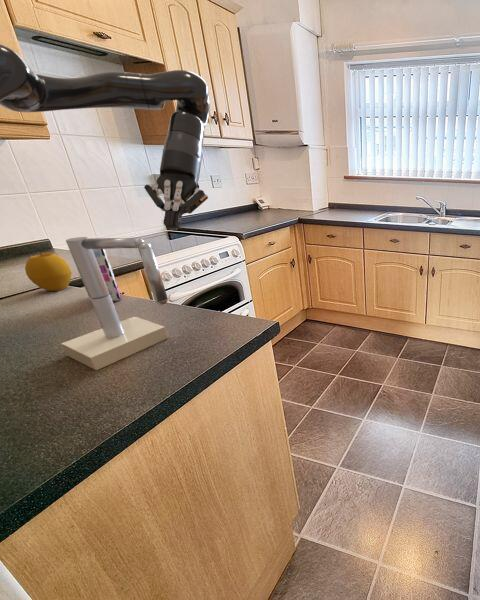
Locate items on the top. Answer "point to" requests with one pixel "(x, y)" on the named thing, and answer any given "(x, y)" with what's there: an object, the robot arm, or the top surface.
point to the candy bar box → (107, 273)
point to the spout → (92, 272)
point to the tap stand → (113, 337)
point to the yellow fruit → (48, 271)
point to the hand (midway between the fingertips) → (171, 228)
